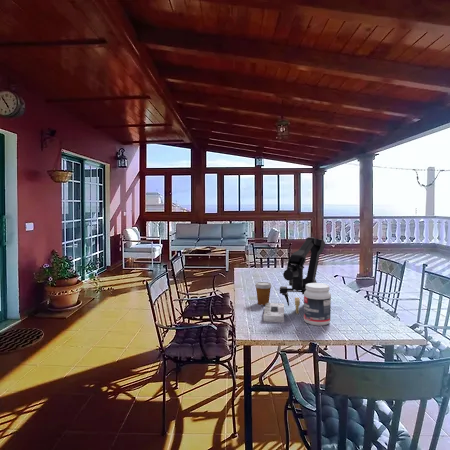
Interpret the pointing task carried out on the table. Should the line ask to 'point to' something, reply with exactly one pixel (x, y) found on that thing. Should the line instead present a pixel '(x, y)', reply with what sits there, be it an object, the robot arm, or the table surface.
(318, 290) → the supplement tub
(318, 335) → the table surface
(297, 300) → the tan pronged block
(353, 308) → the table surface
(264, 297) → the disposable coffee cup
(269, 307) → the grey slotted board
